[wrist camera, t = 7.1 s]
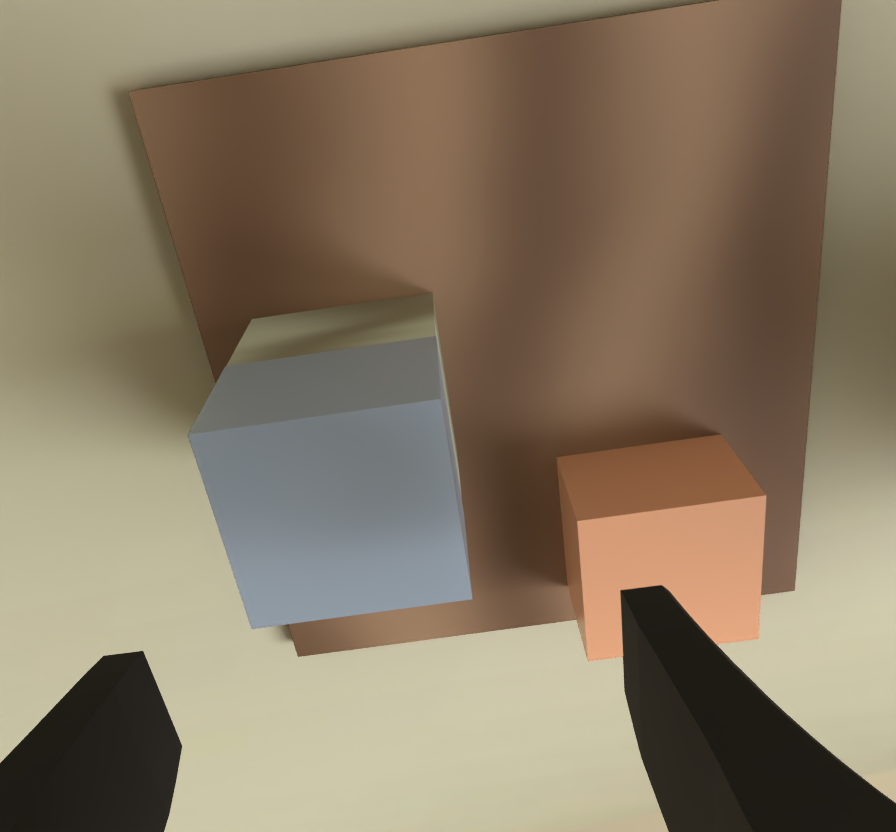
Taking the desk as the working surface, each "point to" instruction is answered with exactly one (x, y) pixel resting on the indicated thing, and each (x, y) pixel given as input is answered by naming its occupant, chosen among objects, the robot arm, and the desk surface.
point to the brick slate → (335, 482)
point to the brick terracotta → (663, 536)
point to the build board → (529, 254)
